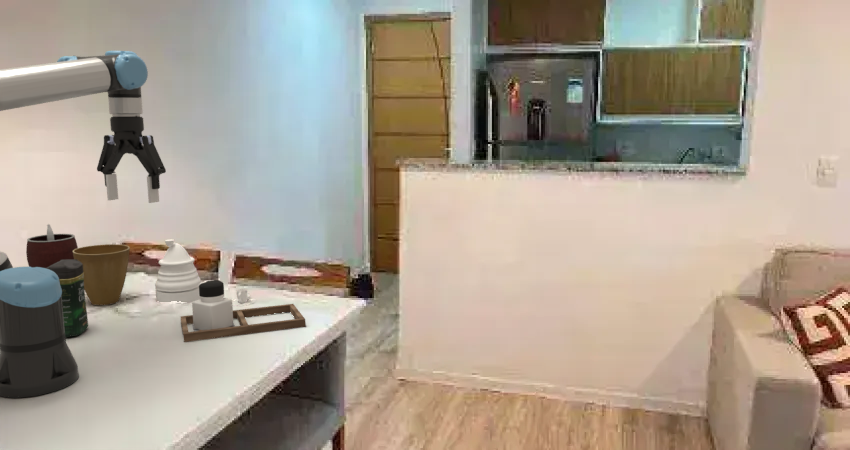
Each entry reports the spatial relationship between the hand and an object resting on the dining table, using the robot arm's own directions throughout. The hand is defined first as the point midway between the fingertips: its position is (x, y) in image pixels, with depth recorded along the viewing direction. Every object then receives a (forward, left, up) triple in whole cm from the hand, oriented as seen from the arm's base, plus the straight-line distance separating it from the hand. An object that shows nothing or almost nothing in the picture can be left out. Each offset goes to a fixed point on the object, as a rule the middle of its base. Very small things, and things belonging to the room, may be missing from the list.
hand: (133, 201), depth 169 cm
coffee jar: (+1, +17, -33) cm, 37 cm away
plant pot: (+28, +10, -33) cm, 44 cm away
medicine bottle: (-10, -17, -32) cm, 38 cm away
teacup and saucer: (+13, -30, -33) cm, 47 cm away
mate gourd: (+48, +25, -33) cm, 63 cm away
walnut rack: (-10, -24, -33) cm, 42 cm away
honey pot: (+24, -10, -33) cm, 42 cm away
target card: (-10, -17, -33) cm, 38 cm away
